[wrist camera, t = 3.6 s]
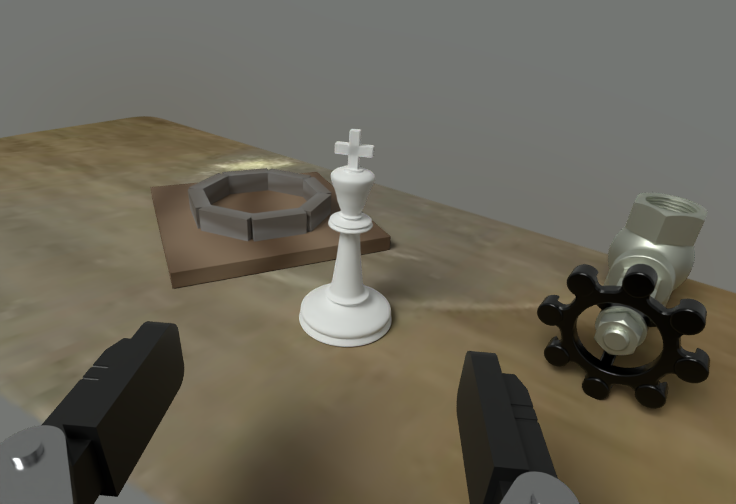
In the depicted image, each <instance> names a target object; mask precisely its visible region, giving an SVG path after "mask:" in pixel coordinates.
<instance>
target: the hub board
mask: <svg viewBox="0 0 736 504" xmlns="http://www.w3.org/2000/svg"><path fill="white" fill-rule="evenodd" d="M150 188H151V194H152V199H153V204H154V208H155V213H156V217H157V221H158V226H159V230H160V235H161V239H162V243H163V248H164V252H165V257H166V261H167V265H168V270H169V274H170V279H171V283H172V287H173V288H178V287H184V286H189V285H195V284H200V283H206V282H211V281H217V280H222V279H228V278H234V277H239V276H245V275H250V274H256V273H261V272H267V271H272V270H278V269H283V268H289V267H295V266H300V265H306V264H311V263H317V262H322V261H328V260H333V259H336V257H337V251H338V244H339V238H340V232H337V231H335V230H333V229H332V228H330V227H329V225H328V221H329V219H330V216H331V215H332V214H334V213H336V212H339V211H341V209H340V207H339V204H338V201H337V195H336V192H335V189H334V187H333V186H332V185H331V184H330V183H329V182H328V181H327V180H325V179H324V178H323V177H322V176H321V175H320V174H319V173H317V172H311V173H300V174H298V173H293V172H287V171H282V170H276V169H270V170H268V169H267V168H266V169H254V170H243V171H231V172H223V174H220V173H218V174H216V175H213V176H211V177H209V178H207V179H205V180H203V181H201V182H199V183H190V184H179V185H168V186H157V187H150ZM362 213H363V212H362ZM372 223H373V227H372V228H371V229H370V230H369V231H367V232H364V233H360V251H361V254H367V253H372V252H378V251H383V250H389V247H390V237H391V236H389V235H388V234H387V233H386V232H385V231H384V230H383V229H381V228H380V227H379V226H378V225H377V224H376V223H375V222H373V221H372Z"/></svg>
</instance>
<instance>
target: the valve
mask: <svg viewBox="0 0 736 504" xmlns="http://www.w3.org/2000/svg"><path fill="white" fill-rule="evenodd" d="M706 215H707V210H706V209H705V208H704V207H702V206H701V205H699V204H697V203H694V202H692V201H690V200H687V199H684V198H680V197H676V196H672V195H667V194H660V193H641V194H639V195H638V196H637V198H636V200H635V202H634V204H633V207H632V210H631V212H630V215H629V218H628V220H627V223H626V226H625V227H624V228H623V229H622V230H621V231H620V232H619V233H618V234H617V235H616V236H615V238H614V239H613V241H612V243H611V245H610V248H609V253H608V266H609V273H608V276H607V277H606V280H605V283H604V285H603V286H601V285H600V284H599V283H598V280H597V277H596V276H597V274H598V271H597V270H596V269H595V268H594V267H593V266H590V265H586V264H583V265H579V266H577V267H576V268H575V269H574V270H573V271H572V273H571V274H570V275H569V277H568V279H567V287H568V289H569V290H570V291H571V292H572V293H573V294H575V296H576V298H575V299H574V300H573V301H572V302H571V303H570V304H567V305H565V304H562V303H560V302H559V301H558V299H559V296H557V295H550V296H547V297H546V298H545V299H544V300H543V302H542V303H541V305H540V306H539V307H538V309H537V315H538V317H539V319H540V320H541V321H542V322H543V323H544V324H546V325H550V326H557V327H558V328H559V329H560V331H561V338H562V339H561V340H558V338H557V336H555V337H553V338H552V339H551V340H550V342H549V343H548V345H547V346H546V348H545V350H544V356H545V358H546V360H547V361H548V362H549V363H550V364H552V365H554V366H558V367H561V366H565V365H566V364H567V363H569V362H574V363H576V364H578V365H579V366H580V367H581V368H583V369H584V370H585V371H586V373H587V374H586V376H585V378H584V381H583V383H582V388H583V391H584V392H585V394H587V395H588V396H590V397H592V398H595V399H597V400H602V399H605V398H607V397H608V395H609V393H610V390H611V388H612V385H614V384H618V385H625V386H629V387H631V388H632V389H633V390H634V391H635V397H636V399H637V401H638V402H639V403H640V404H642V405H643V406H645V407H648V408H652V409H656V408H660V407H662V406H664V404H665V403H666V399H667V394H668V384H667V382H663V383H660V381H659V380H660V379H661V378H662V377H664V376H665V375H667V374H676V375H677V376H678V377H679V378H680V379H682V380H683V381H686V382H689V383H700V382H703V381H705V380H706V379H707V378H708V375H709V367H710V358H709V356H708V355H707V354H706V353H705V352H704V351H703V350H701V349H699V348H697V349H696V352H695V353H693V352H688V351H686V350H684V349H683V348H682V347H681V336H682V335H695V334H698V333H700V332H701V331H702V330H703V329H704V328H705V324H706V316H707V311H706V308H705V307H704V305H703V304H701V303H700V302H698V301H696V300H693V299H681V301H680V305H677V306H675V307H674V308H671V309H667V308H665V307H666V305H667V302H668V300H669V297H670V295H671V293H672V291H673V290H674V289H676V288H677V287H678V286H680V285H681V284H682V283H683V282H684V281H685V280H686V279H687V277H688V276H689V274H690V272H691V270H692V267H693V264H694V258H695V257H694V256H695V251H694V243H695V241H696V239H697V237H698V234H699V232H700V230H701V228H702V226H703V223H704V221H705V219H706ZM593 305H597V306H598V307H599V308H601V311H600V313H599V315H598V317H597V319H596V322H595V328H596V334H595V336H594V339H595V340H596V342H597V343H598V344H599V345H600V346H601V347H602V348H603V349H604V352H603V354H602V356H601V359H600V360H599V359H598V358H596V357H594V356H593V355H592V354H591V353H589V352H588V351H587V350H586V348H585V347H584V346H583V344H582V343H581V341H580V339H579V336H578V334H577V328H576V324H577V318H578V316H579V315H580V314H581V313H582V312H583V311H584V310H585V309H587V308H589V307H591V306H593ZM649 327H657V328H658V329H659V331H660V333H661V336H662V340H663V350H662V352H661V354H660V355H659V356H658V357H657V358H656V359H655V360H653V361H652V362H651V363H649V364H646V365H644V366H641V367H636V368H623V367H617V366H613V363H614V360H615V358H616V355H630V354H633V353H634V351H635V349H636V347H637V346H639V345H640V344H642V343H643V341H644V340H645V338H646V335H647V331H648V328H649Z"/></svg>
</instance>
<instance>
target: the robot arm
mask: <svg viewBox="0 0 736 504" xmlns="http://www.w3.org/2000/svg"><path fill="white" fill-rule="evenodd" d="M183 376H184V362H183V356H182V350H181V343H180V337H179V331H178V327H177V326H176V324H172V323H161V322H150V321H147V322H145V323H143V325H142V326H141V327H140V328H139V329H138V331H137V332H136V333H135V334H134V336H133V337H132V338H131V339H128V338H123V339H122V340H120V341H119V342H117V343H115V344H114V345H112V346H111V347H109V348H108V349H106V350H105V351H104V352H103V354H102V355H101V356H100V357H99V358H98V359H97V361H96V362H95V363H94V364H93V367H91V368H90V369H89V370H88V371H87V372H86V373H85V375H84V376H83V379H82V380H80V381H79V382H78V383H77V384H76V385H75V386H74V388H73V389H72V390H71V391H70V392H69V393H68V395H67V396H66V397H65V398H64V399H63V400H62V402H61V403H60V404H59V405H58V406H57V407H56V409H55V410H54V411H53V412H52V413H51V415H50V416H49V417H48V418H47V419H46V420H45V422H44V423H43V424H42V425H41V426H35V427H31V428H27V429H24V430H22V431H20V432H17V433H15V434H13V435H12V436H10V437H8V438H7V439H5V440H4V441H3V442H1V443H0V504H94V503H95V501H96V500H97V498H98V496H99V495H104V496H115V497H118V495H119V493H120V492H121V490H122V488H123V487H124V485H125V483H126V481H127V480H128V478H129V476H130V474H131V473H132V471H133V469H134V467H135V466H136V464H137V462H138V460H139V459H140V457H141V455H142V453H143V452H144V450H145V448H146V446H147V445H148V443H149V441H150V439H151V438H152V436H153V434H154V432H155V431H156V429H157V427H158V425H159V424H160V422H161V420H162V418H163V417H164V415H165V413H166V411H167V410H168V408H169V406H170V404H171V403H172V401H173V399H174V397H175V396H176V394H177V392H178V390H179V389H180V386H181V384H182V381H183ZM457 418H458V425H459V432H460V439H461V446H462V453H463V460H464V467H465V474H466V481H467V487H468V494H469V501H470V504H580V503H579V502H578V500H577V498H576V496H575V495H574V493H573V492H572V491H571V490H570V489H569V488H568V487H567V486H566V485H565V484H564V483H563V482H561V481H560V480H559V479H558V478H557V475H556V473H555V470H554V467H553V464H552V461H551V458H550V455H549V452H548V449H547V446H546V443H545V440H544V437H543V434H542V431H541V428H540V425H539V423H538V422H537V420H538V419H537V416H536V413H535V410H534V409H533V404H532V402H531V399H530V396H529V393H528V390H527V388H526V387H525V386H524V385H523V384H522V382H521V381H520V380H519V379H518V378H517V376H516V375H515V374H505V373H502V372H501V368H500V365H499V361H498V358H497V355H496V354H495V353H486V352H475V351H467V353H466V356H465V361H464V365H463V370H462V374H461V379H460V384H459V388H458V394H457Z"/></svg>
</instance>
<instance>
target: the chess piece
mask: <svg viewBox="0 0 736 504" xmlns="http://www.w3.org/2000/svg"><path fill="white" fill-rule="evenodd" d="M335 153H336V154H344V155H348V165H347V166H343V167H339V168H337V169H335V170H334V171H333V172H332V173H331V180H332V184H333V187H334V189H335V192H336V195H337V201H338V204H339V207H340V209H341V211H339V212H336V213H334V214H332V215H331V216H330V219H329V221H328V225H329V227H330V228H332V229H333V230H335V231H337V232H340V238H339V244H338V251H337V257H336V263H335V268H334V274H333V279H332V283H330V284H326V285H323V286H320V287H318V288H316V289H314V290H312V291H311V292H310V293H308V294H307V295H306V296H305V298H304V299H303V301H302V304H301V311H300V314H299V321H300V324H301V326H302V328H303V329H304V331H305V332H306V333H307V334H308V335H310V336H311V337H312V338H314V339H316V340H318V341H320V342H323V343H325V344H329V345H333V346H340V347H354V346H361V345H366V344H369V343H372V342H374V341H376V340H378V339H380V338H381V337H382V336H384V335H385V334H386V333H387V331H388V330H389V328H390V326H391V320H392V319H391V307H390V304H389V302H388V301H387V299H386V298H385V297H384V296H383V295H382V294H381V293H380V292H378V291H376V290H375V289H373V288H371V287H368V286H365V285H364V284H363V278H362V266H361V251H360V233H364V232H367V231H369V230H370V229H371V228H372V227H373V223H372V219H371V218H370V216H368V215H367V214H365V213H362V210H363V207H364V205H365V203H366V200H367V197H368V195H369V192H370V190H371V188H372V186H373V184H374V181H375V175H374V173H373V172H371V171H370V170H368V169H366V168H363V167H361V166H359V163H360V157H369V158H372V157H373V156H374V145H365V144H361V130H359V129H351V130H350V133H349V143H348V142H339V141H337V142H336V143H335Z"/></svg>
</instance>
